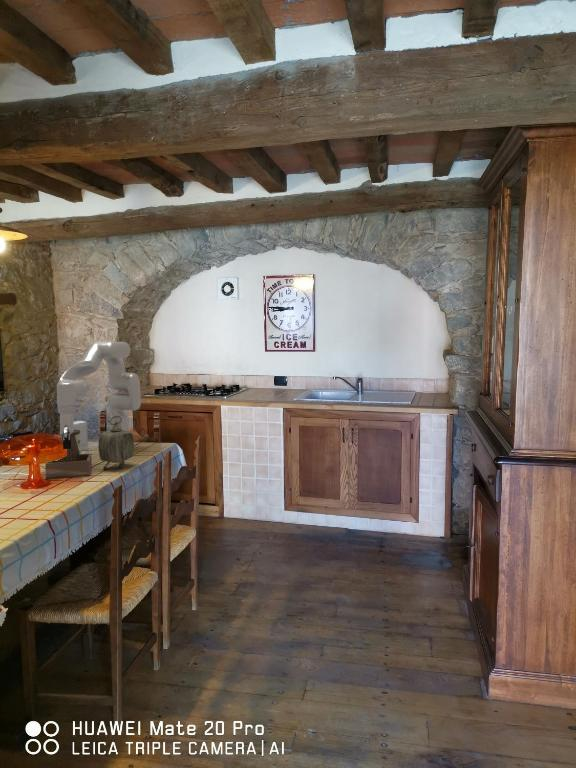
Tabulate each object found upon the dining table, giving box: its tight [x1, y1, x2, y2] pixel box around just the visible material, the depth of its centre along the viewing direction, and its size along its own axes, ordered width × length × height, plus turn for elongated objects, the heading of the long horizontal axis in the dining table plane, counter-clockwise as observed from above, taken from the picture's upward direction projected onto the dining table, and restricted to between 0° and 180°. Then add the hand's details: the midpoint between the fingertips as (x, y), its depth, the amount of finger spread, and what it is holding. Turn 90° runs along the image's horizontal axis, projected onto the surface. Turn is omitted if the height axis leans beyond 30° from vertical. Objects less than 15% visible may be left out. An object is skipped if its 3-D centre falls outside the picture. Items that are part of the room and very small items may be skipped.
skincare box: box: [74, 420, 89, 452], centre depth 283 cm, size 8×7×16 cm
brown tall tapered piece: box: [59, 433, 80, 462], centre depth 239 cm, size 9×8×25 cm
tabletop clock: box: [97, 416, 135, 470], centre depth 247 cm, size 14×9×25 cm, turn 149°
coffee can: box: [57, 430, 82, 454], centre depth 266 cm, size 10×10×14 cm
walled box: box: [44, 453, 93, 480], centre depth 239 cm, size 14×18×7 cm
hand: (68, 446), depth 238 cm, fingers open, 9 cm apart
